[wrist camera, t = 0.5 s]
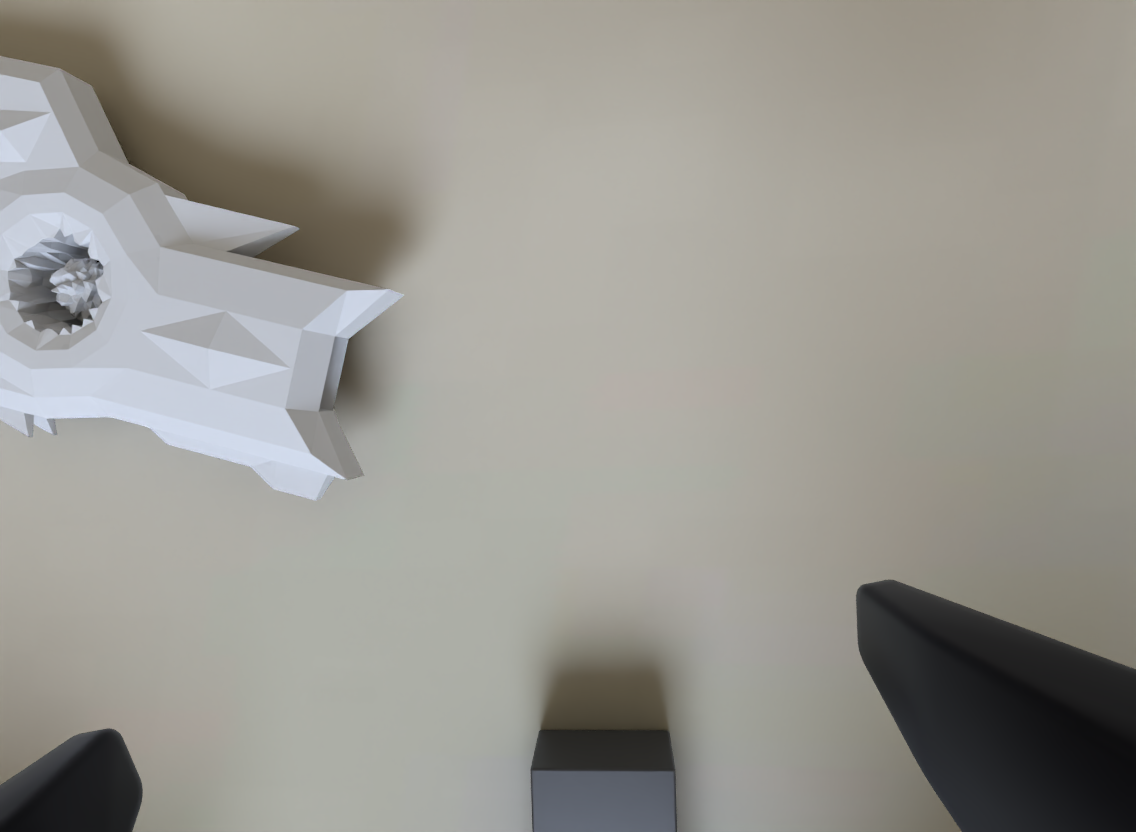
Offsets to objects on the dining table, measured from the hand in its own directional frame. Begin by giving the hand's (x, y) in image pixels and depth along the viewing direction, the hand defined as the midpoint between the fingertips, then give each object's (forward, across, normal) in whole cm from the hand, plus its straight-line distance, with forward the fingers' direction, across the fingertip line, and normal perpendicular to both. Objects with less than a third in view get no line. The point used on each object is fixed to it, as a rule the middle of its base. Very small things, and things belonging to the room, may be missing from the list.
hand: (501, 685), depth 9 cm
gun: (+16, +11, -5) cm, 20 cm away
